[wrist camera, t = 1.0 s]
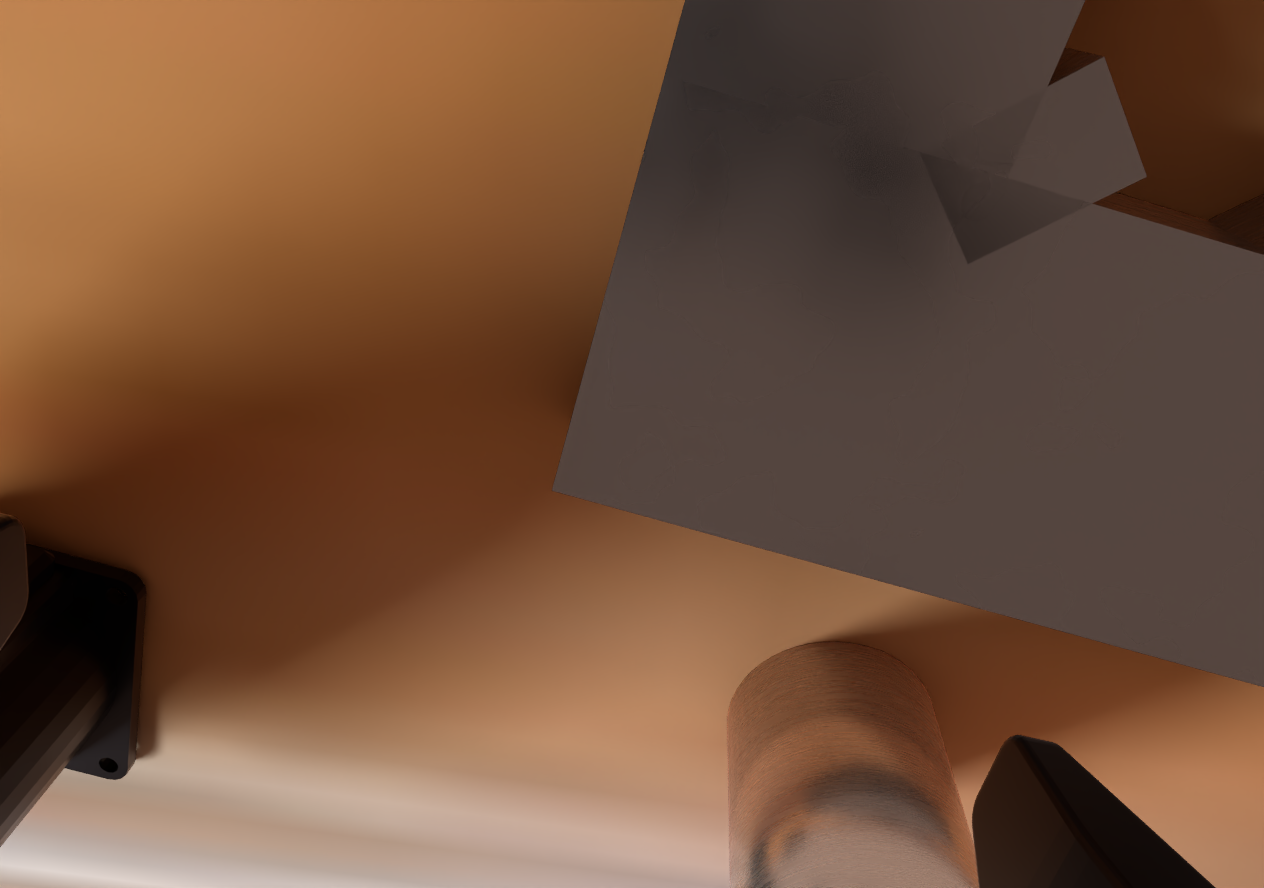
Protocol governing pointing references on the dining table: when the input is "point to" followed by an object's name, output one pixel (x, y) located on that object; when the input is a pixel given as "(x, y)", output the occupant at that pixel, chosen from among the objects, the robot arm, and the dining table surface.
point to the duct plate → (935, 327)
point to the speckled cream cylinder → (841, 777)
